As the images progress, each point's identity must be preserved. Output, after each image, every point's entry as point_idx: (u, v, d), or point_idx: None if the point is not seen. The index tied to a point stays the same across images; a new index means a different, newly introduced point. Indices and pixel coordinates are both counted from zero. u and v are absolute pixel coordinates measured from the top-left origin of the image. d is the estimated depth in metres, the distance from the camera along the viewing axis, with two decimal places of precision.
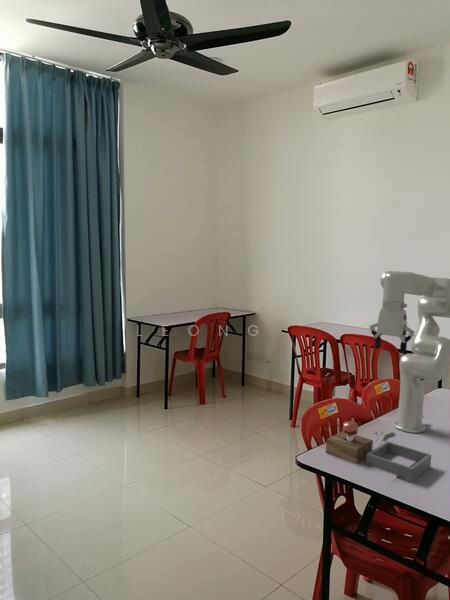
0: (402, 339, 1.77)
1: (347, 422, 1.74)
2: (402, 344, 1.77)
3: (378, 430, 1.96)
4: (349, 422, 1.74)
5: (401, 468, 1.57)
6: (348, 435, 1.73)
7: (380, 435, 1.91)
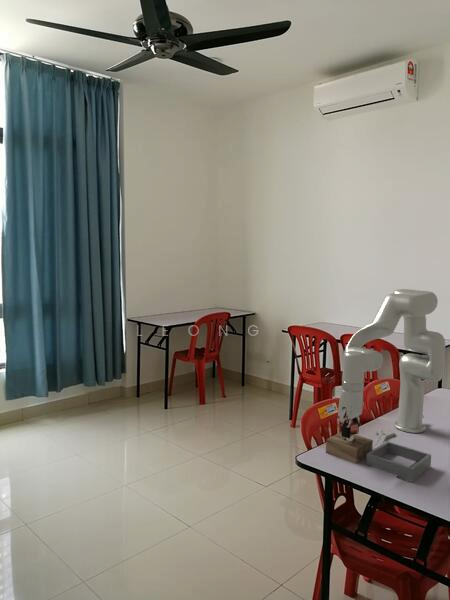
0: (358, 419, 1.75)
1: (347, 422, 1.74)
2: None
3: (379, 431, 1.95)
4: None
5: (401, 468, 1.57)
6: None
7: (381, 436, 1.90)
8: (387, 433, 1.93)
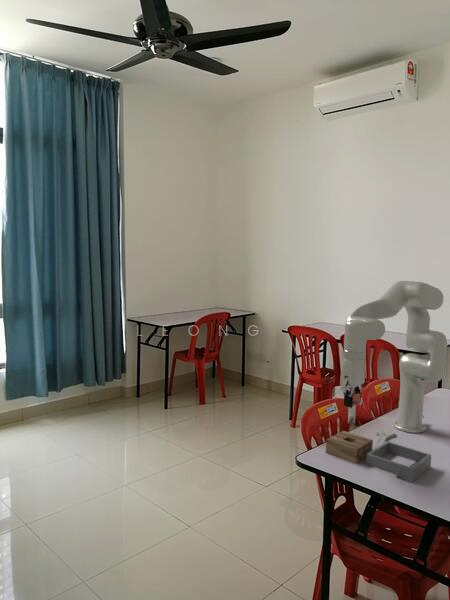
0: (360, 388, 1.73)
1: None
2: None
3: (380, 431, 1.95)
4: None
5: (401, 468, 1.57)
6: None
7: (382, 437, 1.90)
8: (388, 434, 1.93)
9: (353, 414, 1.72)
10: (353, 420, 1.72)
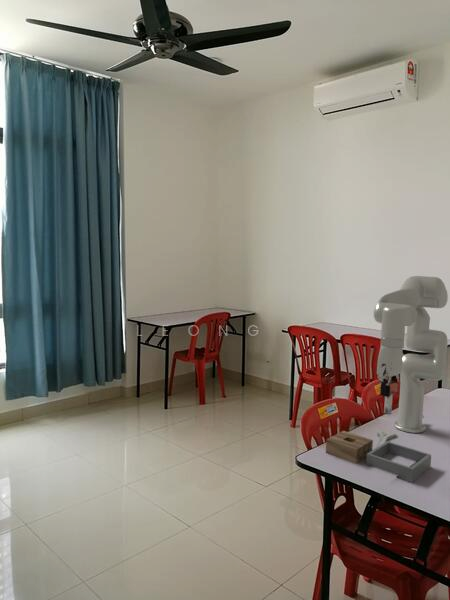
0: (398, 378, 1.67)
1: None
2: None
3: (380, 432, 1.94)
4: None
5: (401, 468, 1.57)
6: None
7: (382, 437, 1.89)
8: (388, 434, 1.92)
9: (390, 404, 1.65)
10: (390, 410, 1.65)
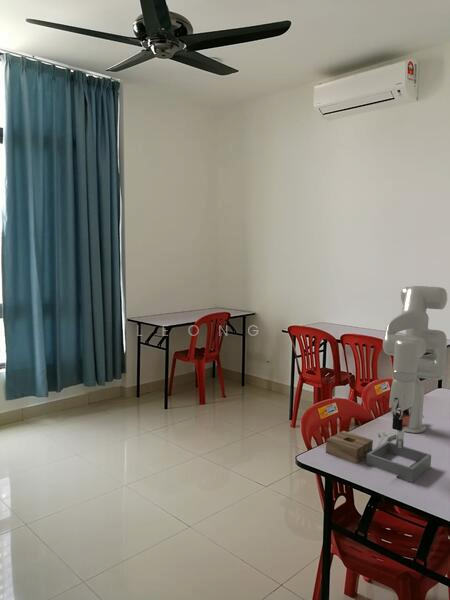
0: (409, 411, 1.66)
1: None
2: None
3: (381, 432, 1.94)
4: None
5: (401, 468, 1.57)
6: None
7: (383, 438, 1.89)
8: (389, 434, 1.92)
9: (402, 438, 1.64)
10: (402, 444, 1.64)
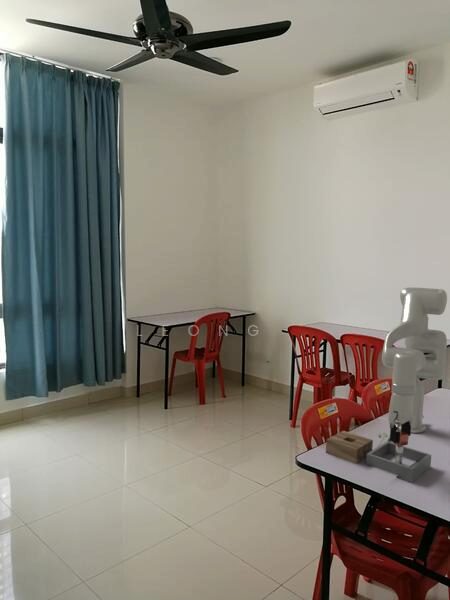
0: (410, 421, 1.67)
1: None
2: None
3: (382, 433, 1.93)
4: None
5: (401, 468, 1.57)
6: (398, 446, 1.65)
7: (384, 438, 1.88)
8: None
9: (401, 456, 1.65)
10: (400, 462, 1.65)
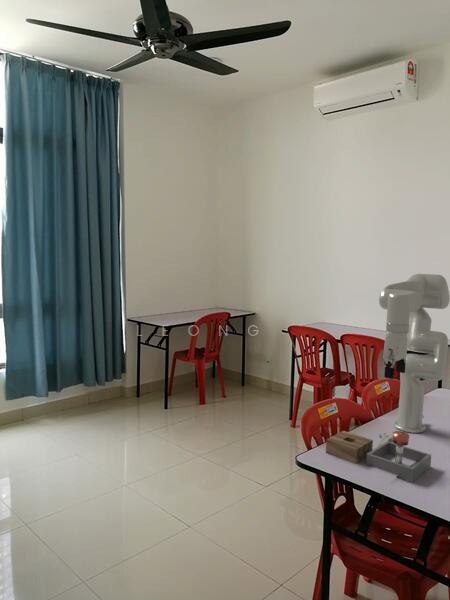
0: (404, 359, 1.73)
1: (397, 432, 1.66)
2: None
3: (382, 433, 1.93)
4: (399, 432, 1.66)
5: (401, 468, 1.57)
6: (398, 446, 1.65)
7: (384, 439, 1.88)
8: (390, 436, 1.91)
9: (401, 456, 1.65)
10: (400, 462, 1.65)
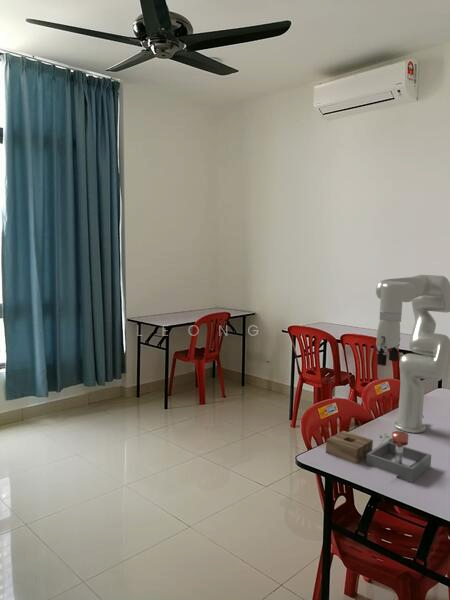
0: (397, 347, 1.79)
1: (396, 432, 1.66)
2: None
3: (383, 434, 1.93)
4: (398, 432, 1.66)
5: (401, 468, 1.57)
6: (398, 446, 1.65)
7: (384, 439, 1.88)
8: (391, 436, 1.90)
9: (401, 456, 1.65)
10: (400, 462, 1.65)
